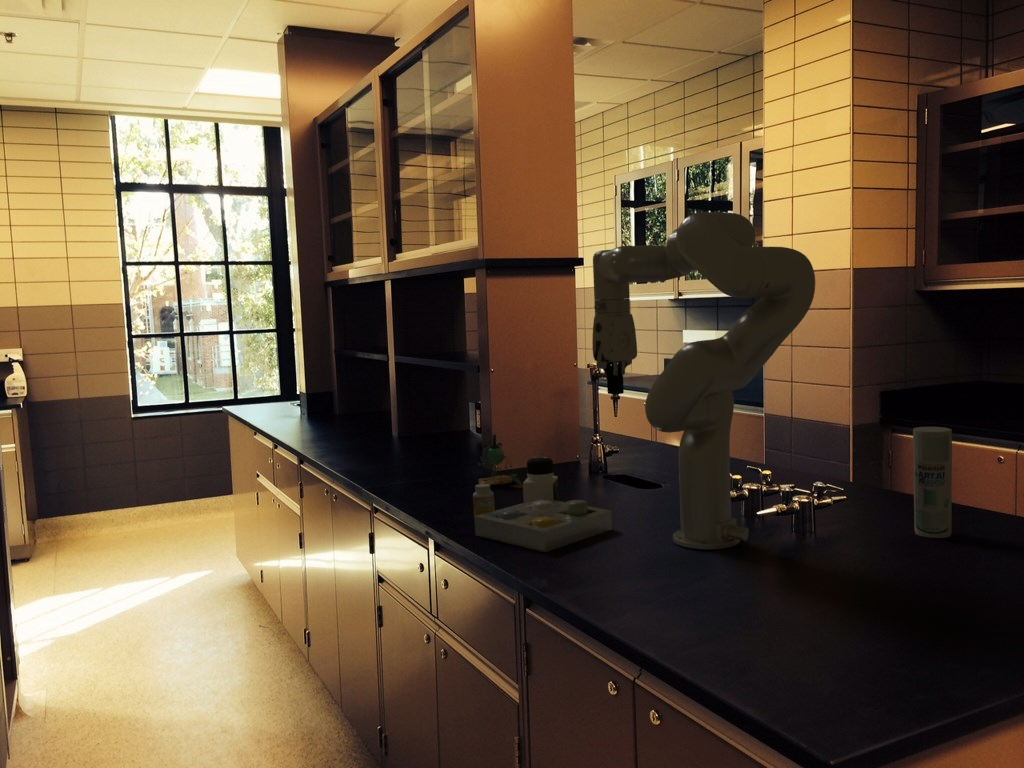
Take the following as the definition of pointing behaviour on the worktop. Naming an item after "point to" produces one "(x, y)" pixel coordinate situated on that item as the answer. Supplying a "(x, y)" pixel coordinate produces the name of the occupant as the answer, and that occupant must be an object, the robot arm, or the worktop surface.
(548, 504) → the ivory button
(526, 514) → the panel
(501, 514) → the slate button
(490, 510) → the supplement bottle
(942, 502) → the spray can
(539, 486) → the medicine bottle
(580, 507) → the sage button
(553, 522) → the amber rounded lump
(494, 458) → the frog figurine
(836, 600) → the worktop surface
